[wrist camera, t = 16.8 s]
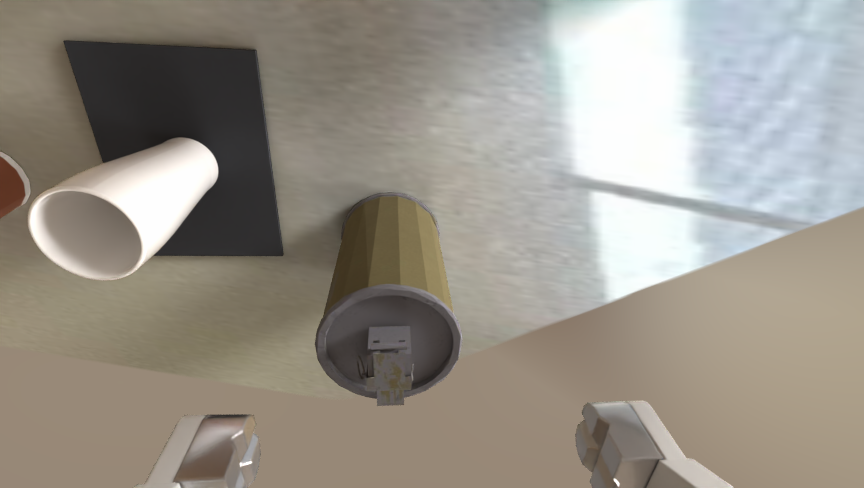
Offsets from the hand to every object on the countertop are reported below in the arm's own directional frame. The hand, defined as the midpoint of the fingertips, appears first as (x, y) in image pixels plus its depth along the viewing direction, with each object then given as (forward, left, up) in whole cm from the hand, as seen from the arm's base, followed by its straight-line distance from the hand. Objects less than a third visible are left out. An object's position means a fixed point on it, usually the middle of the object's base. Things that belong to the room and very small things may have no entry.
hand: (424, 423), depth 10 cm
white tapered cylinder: (+4, -20, -33) cm, 39 cm away
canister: (+12, -1, -33) cm, 35 cm away
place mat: (+4, -20, -33) cm, 39 cm away
